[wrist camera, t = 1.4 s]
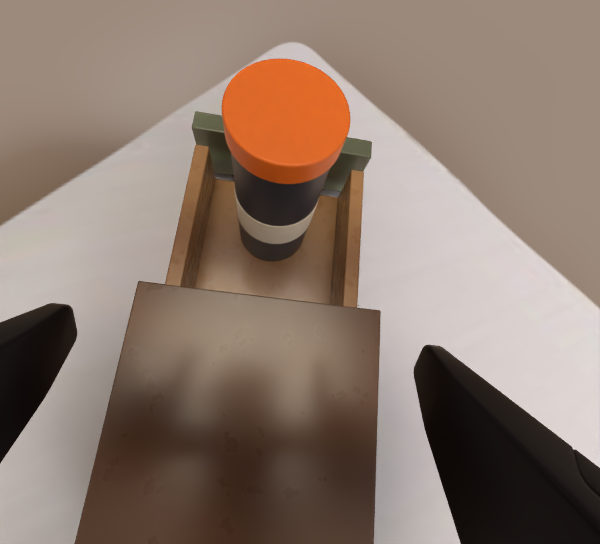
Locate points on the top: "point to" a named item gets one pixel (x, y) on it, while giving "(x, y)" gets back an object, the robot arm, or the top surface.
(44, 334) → the robot arm
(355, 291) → the drawer
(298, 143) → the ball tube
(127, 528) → the cabinet
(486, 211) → the top surface
